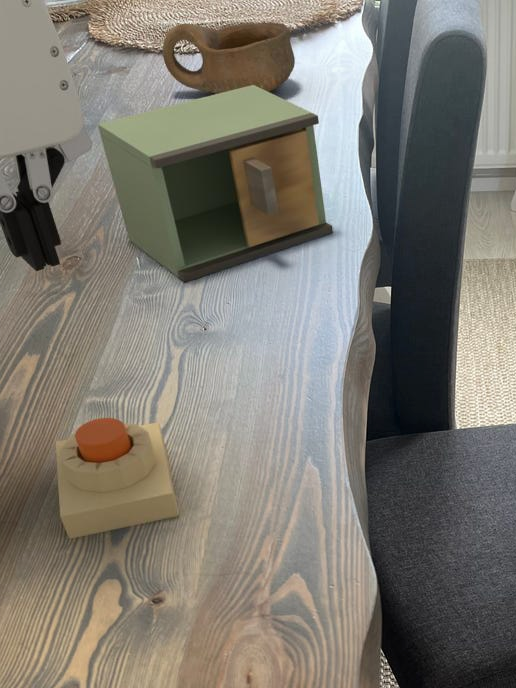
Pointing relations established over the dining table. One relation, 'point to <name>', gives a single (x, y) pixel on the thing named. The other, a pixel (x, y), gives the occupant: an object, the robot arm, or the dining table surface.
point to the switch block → (116, 485)
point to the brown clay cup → (233, 56)
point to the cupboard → (200, 177)
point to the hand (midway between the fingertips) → (40, 260)
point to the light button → (102, 440)
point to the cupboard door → (274, 187)
